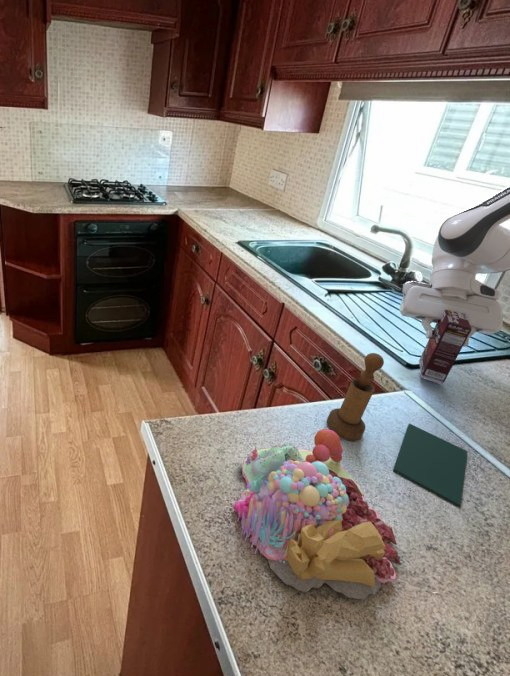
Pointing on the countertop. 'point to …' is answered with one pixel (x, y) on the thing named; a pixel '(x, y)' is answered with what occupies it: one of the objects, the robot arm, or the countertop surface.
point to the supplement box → (444, 346)
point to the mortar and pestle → (355, 402)
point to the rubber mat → (432, 464)
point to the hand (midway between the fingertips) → (446, 341)
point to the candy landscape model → (315, 520)
